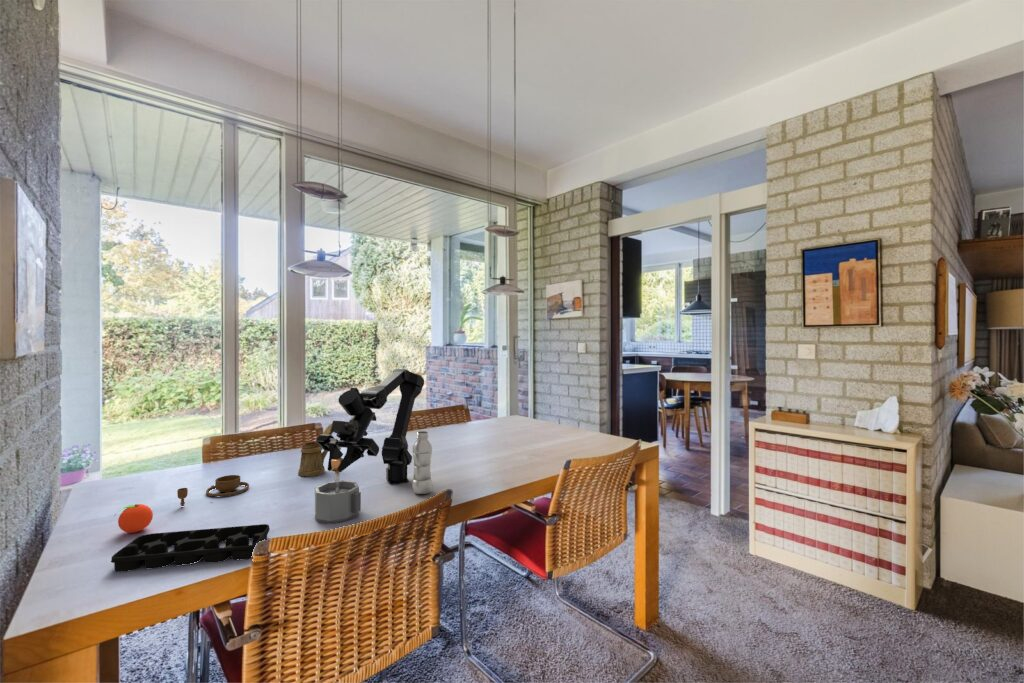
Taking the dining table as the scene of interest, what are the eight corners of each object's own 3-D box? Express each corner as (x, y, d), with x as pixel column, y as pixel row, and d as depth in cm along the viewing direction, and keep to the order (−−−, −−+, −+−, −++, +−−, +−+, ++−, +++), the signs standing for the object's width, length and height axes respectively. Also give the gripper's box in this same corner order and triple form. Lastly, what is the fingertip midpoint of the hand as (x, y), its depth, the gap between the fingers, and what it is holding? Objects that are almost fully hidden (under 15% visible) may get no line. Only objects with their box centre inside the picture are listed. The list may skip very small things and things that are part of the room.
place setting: (254, 496, 142) (254, 477, 142) (177, 512, 129) (177, 492, 129) (243, 482, 155) (243, 465, 155) (171, 495, 142) (171, 477, 142)
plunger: (334, 489, 131) (334, 454, 131) (358, 492, 129) (358, 456, 129) (314, 498, 123) (314, 461, 123) (339, 502, 121) (339, 464, 121)
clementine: (107, 540, 109) (107, 511, 109) (119, 529, 116) (119, 502, 116) (147, 534, 113) (147, 507, 113) (156, 524, 119) (156, 498, 119)
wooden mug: (340, 470, 167) (340, 423, 167) (302, 478, 158) (303, 428, 158) (331, 465, 174) (331, 420, 174) (294, 472, 164) (294, 424, 164)
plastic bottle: (415, 498, 140) (415, 435, 140) (409, 491, 146) (410, 431, 146) (434, 494, 143) (435, 433, 143) (428, 488, 149) (429, 429, 149)
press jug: (333, 505, 133) (333, 478, 133) (370, 510, 130) (370, 483, 130) (305, 520, 122) (305, 491, 122) (344, 526, 119) (345, 497, 118)
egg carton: (128, 551, 105) (128, 535, 105) (271, 528, 118) (271, 514, 118) (97, 589, 89) (97, 571, 89) (266, 558, 102) (266, 542, 102)
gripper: (320, 407, 132) (291, 453, 122) (373, 411, 127) (348, 459, 116) (337, 428, 140) (312, 473, 130) (388, 432, 135) (366, 479, 124)
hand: (333, 470), depth 125 cm, fingers closed on plunger, 3 cm apart
